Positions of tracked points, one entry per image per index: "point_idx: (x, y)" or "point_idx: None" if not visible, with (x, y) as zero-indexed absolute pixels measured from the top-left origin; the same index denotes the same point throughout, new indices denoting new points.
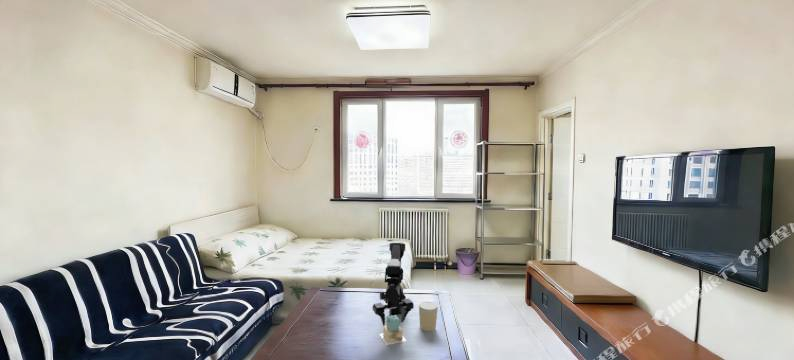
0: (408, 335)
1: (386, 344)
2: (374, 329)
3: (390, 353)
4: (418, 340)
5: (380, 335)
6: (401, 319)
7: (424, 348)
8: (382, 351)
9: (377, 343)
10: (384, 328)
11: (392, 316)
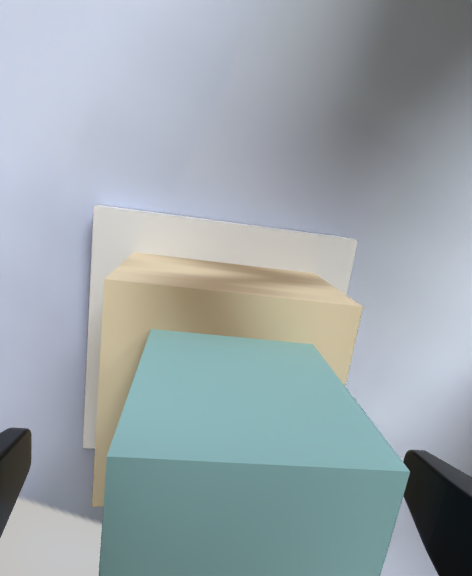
0: (399, 340)
1: (90, 436)
2: (101, 12)
3: (90, 520)
4: (423, 447)
5: (94, 247)
6: (436, 495)
7: (388, 554)
8: (28, 472)
9: (25, 334)
10: (105, 330)
11: (265, 523)
